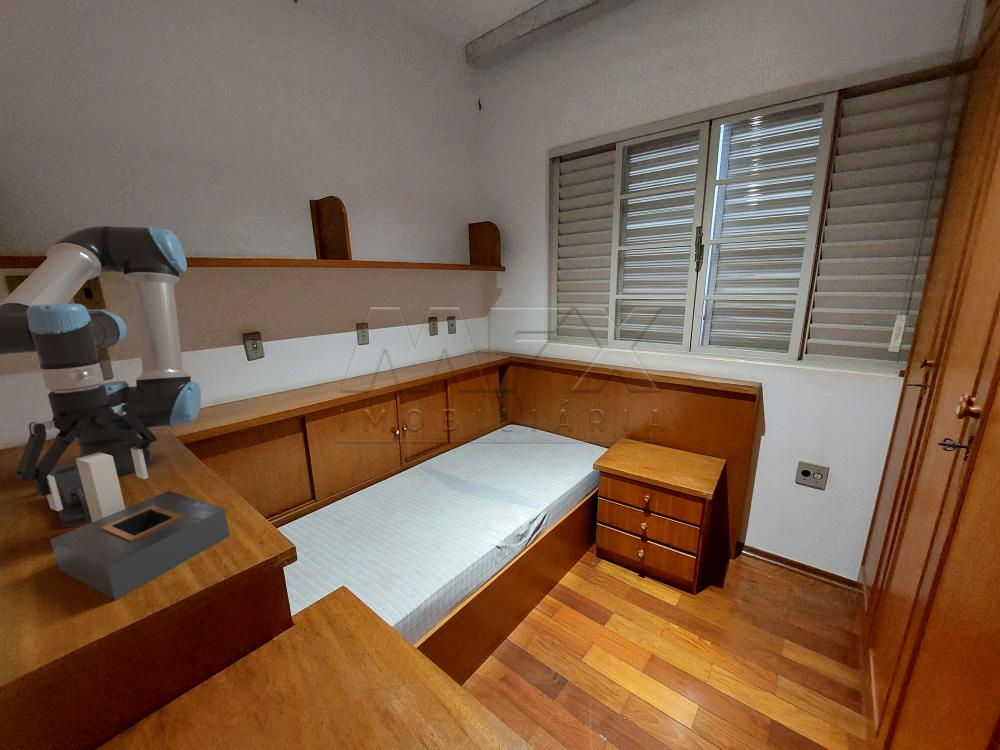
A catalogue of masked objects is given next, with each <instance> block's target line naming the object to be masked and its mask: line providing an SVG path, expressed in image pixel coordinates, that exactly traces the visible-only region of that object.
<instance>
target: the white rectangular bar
mask: <svg viewBox="0 0 1000 750" xmlns="http://www.w3.org/2000/svg"><path fill="white" fill-rule="evenodd" d="M75 461H76V462H77V466H78V470H79V474H80V477H81V481H82V485H83V489H84V493H85V497H86V500H87V504H88V508H89V512H90V516H91V519H92V522H94V521H97V520H99V519H102V518H104V517H107V516H109V515H112V514H114V513H116V512H119V511H121V510H124V509H126V506H125V502H124V497H123V493H122V489H121V486H120V485H121V484H120V481H119V476H117V472H116V468H115V464H114V459H113V456H111V455H108V454H104V453H101V452H97V453H94V454H91V455H87V456H84V457H80V458H75ZM92 522H91V523H92Z"/></svg>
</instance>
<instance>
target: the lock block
mask: <svg viewBox="0 0 1000 750" xmlns="http://www.w3.org/2000/svg"><path fill="white" fill-rule="evenodd" d="M228 537H230V531H229V525H228V520H227V514H226V508H224V507H220V506H218V505H216V504H215V505H214V504H212V503H208V502H205V501H202V500H200V499H196V498H193V497H190V496H187V495H183V494H181V493H178V492H174V491H172V490H171V491H170V490H168V491H166V492H163V493H161V494H158V495H156V496H153V497H150V498H149V499H145V500H144V501H141V502H139V503H136V504H134V505H131V506H129V507H127V508H126V507H125V509H124V510H121V511H119V512H116V513H114V514H112V515H109V516H107V517H104V518H102V519H99V520H97V521H94V522H90V523H87V524H84V525H82V526H79V527H78V528H76V529H73V530H70V531H68V532H66V533H65V532H64V533H62V534H60V535H58V536H56V537H54V538H50V544H51V546H52V550H53V553H54V557H55V561H56V565H57V567H58V570H59V571H60V572H62V573H64V574H65V575H68V576H70V577H71V578H73V579H75V580H77V581H79V582H81V583H82V584H84V585H86V586H88V587H90V588H92V589H94V590H96V591H97V592H99V593H101V594H103V595H105V596H107V597H108V598H110V599H111V600H114V601H117V600H119V599H120V598H122V597H124V596H126V595H128V594H129V593H131V592H133V591H135V590H137V589H138V588H140V587H141V586H144V585H145V584H147V583H150V582H151V581H152V580H154V579H156V578H158V577H160V576H161V575H162V574H165V573H166V572H168V571H170V570H171V569H173V568H175V567H177V566H179V565H181V564H183V563H184V562H186V561H187V560H189V559H191V558H193V557H195V556H196V555H198V554H199V553H201V552H204V551H205V550H208V549H209V548H210V547H212V546H214V545H215V544H217V543H219V542H221V541H222V540H225V539H226V538H228Z"/></svg>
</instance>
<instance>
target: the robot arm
mask: <svg viewBox="0 0 1000 750" xmlns="http://www.w3.org/2000/svg"><path fill="white" fill-rule="evenodd" d="M187 267H188V263H187V259H186V255H185V252H184V249H183V247H182V244H181V242H180V241H179V238H178V237H177V235H176V234H174V232H172V231H171V230H169V229H168V228H167V229H166V228H157V227H152V226H149V227H138V226H136V227H135V226H109V225H97V226H96V225H95V226H90V227H85V228H83V229H82V228H81V229H80V230H77V231H74V232H71V233H69V234H67V235H65V236H64V237H62V238H60V239H59V240H57V241H56V242H55V243H53V244H52V245H51V246H50V247H49V248H48V249H47V252H46V259H45V260H44V261H43V262H42V263H41V264H40V265H39V266H38V267H37V268H35V270H34V271H33V272H32V273H31V274H30V275H29V276H28V277H26V278H25V279H24V280H23V281H22V282H21V284H19V285H18V286H17V287H16V288H15V289H14V290H13V291H12V292H11V293H10V294H9V295H7V297H5V299H4V300H2V302H0V356H1V355H7V354H8V355H10V354H21V353H36V354H37V358H38V361H39V366H40V370H41V373H42V379H43V382H44V386H45V389H46V390H48V391H49V393H48V394H47V398H48V401H49V404H50V408H51V411H52V416H53V417H52V419H51V420H49V421H43V422H36V421H33V422H30V423H29V424H28V430H29V436H28V437H29V438H28V440H27V443H26V445H25V448H24V451H23V454H22V456H21V459H20V462H19V464H18V466H17V470H16V473H15V475H14V477H15V478H16V479H19V480H21V481H26V482H27V481H33V482H34V486H35V489H36V493H37V494H39V495H40V496H42V497H45V496H46V498H47V501H48V505H49V508H50V509H51V510H54V511H56V512H60V510H62V509H63V507H62V503H61V500H60V499H61V497H60V493H59V488H58V487H57V485H56V482H55V478H54V476H51V475H49V473H50V472H51V470H52V469H53V467H54V466H56V465H57V463H58V462H59V460H60V458H61V457H62V456H63V454H64V453H65V451H66V450H67V448H68V447H69V446H70V444H72V443H73V442H74V440H77V444H78V447H79V448H78V453H77V458H80V457H84V456H87V455H91V454H94V453H97V452H101V453H104V454H108V455H111V456H113V459H114V464H115V468H116V472H117V476H118V477H121V476H125V475H128V474H132V473H135V474H136V477H137V478H139V479H142V480H146V479H148V478H149V474H148V469H147V466H149V465H150V464H151V463H152V462H153V461H154V459H153V456H152V452H151V450H150V449H149V447H150V446H151V444H152V443H155V442H156V441H157V440H158V438H157V437H156V435H155V434H154V433H153V432H152V431H151V430H150V428H151V429H152V428H161V427H168V426H169V427H171V426H172V427H175V426H179V425H184V424H190V423H192V422H194V421H195V420H196V418H197V417H198V415H199V413H200V409H201V403H202V391H201V386H200V384H199V383H198V382H196V381H194V380H192V378H191V374H189V373H187V371H185V370H184V366H183V358H182V357H183V356H182V348H181V339H180V331H179V322H178V314H177V313H178V311H177V304H176V293H175V285H176V284H177V283H179V282H180V281H181V277H180V274H183V273H186V271H187V270H188V268H187ZM116 272H117V273H123V278H124V279H126V280H127V281H129V282H130V283H131V285H132V290H133V300H134V306H135V307H134V309H135V318H136V326H137V334H138V335H137V336H138V343H139V351H140V360H141V361H140V362H141V369H142V373H141V374H139V376H138V377H136V378H135V383H136V384H135V385H136V386H135V385H134V386H130V385H129V383H128V382H127V381H126V380H122V381H121V380H118V381H111V382H106V383H104V381H105V380H104V376H103V372H102V367H101V363H100V359H99V354H98V350H101V349H107V348H111V347H113V346H114V345H116V344H119V343H121V342H122V341H123V340H124V339H125V337H126V335H127V332H128V331H127V330H128V329H127V326H126V323H125V322H124V320H123V319H122V318H121V317H120V316H119V315H117V314H115V313H112V312H110V311H105V310H90V311H88V309H87V307H86V306H85V305H83V304H81V303H69V302H70V301H72V299H73V298H74V296H75V295H76V294H77V293H78V292H79V290H80V289H81V288H82V287H83V286H84V284H85V283H86V282H87V281H88V280H93V279H94V278H96V277H98V276H99V275H100V274H103V273H116ZM53 428H55V429H57V430H59V432H58V433H57V434H56V436H55V437H54V441H53V442H52V444H50V447H49V449H48V450H47V451H46V452H45V454H44V455H43V456H42V458H41V459H40V458H39V457H40V455H41V452H42V450H43V447H44V445H45V442H46V438H47V435H48V434H49V433H51V430H52V429H53ZM77 458H76V459H77ZM39 459H40V461H39ZM38 461H39V462H38ZM77 469H78V467H77V468H74V470H77Z"/></svg>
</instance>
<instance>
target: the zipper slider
mask: <svg viewBox="0 0 1000 750" xmlns="http://www.w3.org/2000/svg"><path fill="white" fill-rule="evenodd" d="M77 467H78V466H77V462H76V460H73V461H70V462H65V463H62V464H57V465H55V466H54V467H53V469H52V470H51V472H50V473H49V475H51V476H54V478H55V482H56V485H57V489H58V491H60V493H61V494H62V496H63V497H60V500H61V503H62V507H63V509H62V510H60V511H59V513H58V515H59V516H58V517H59V521H60V523H61V526H62V527H66V528H74V527H80V526H81V525H82V526H84V525H87V524H90V523H92V519H91V516H90V512H89V508H88V504H87V500H86V497H85V493H84V489H83V485H82V481H81V477H80V474H79V470H78V469H77V470H75V468H77ZM73 469H74V470H73ZM64 471H66V472H64ZM61 472H62V473H61ZM72 492H74V493H72Z"/></svg>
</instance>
